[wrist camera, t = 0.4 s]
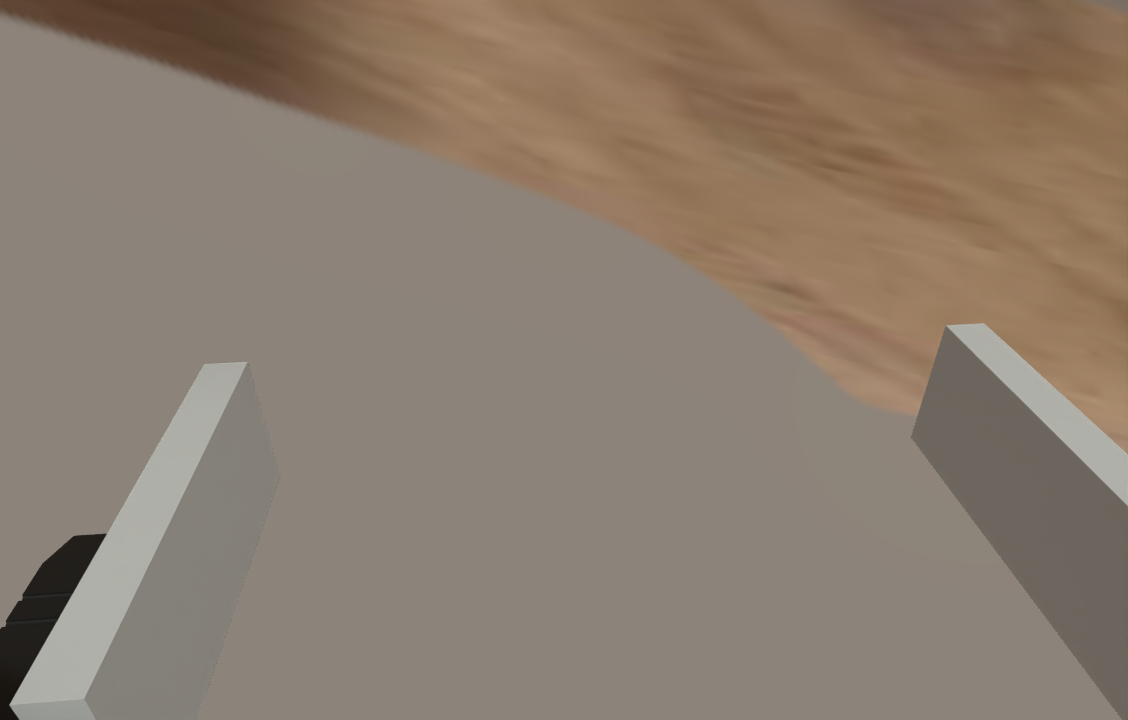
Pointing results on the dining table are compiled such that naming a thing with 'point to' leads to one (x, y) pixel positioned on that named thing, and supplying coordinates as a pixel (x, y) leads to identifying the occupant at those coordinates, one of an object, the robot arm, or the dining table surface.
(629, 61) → the dining table surface
